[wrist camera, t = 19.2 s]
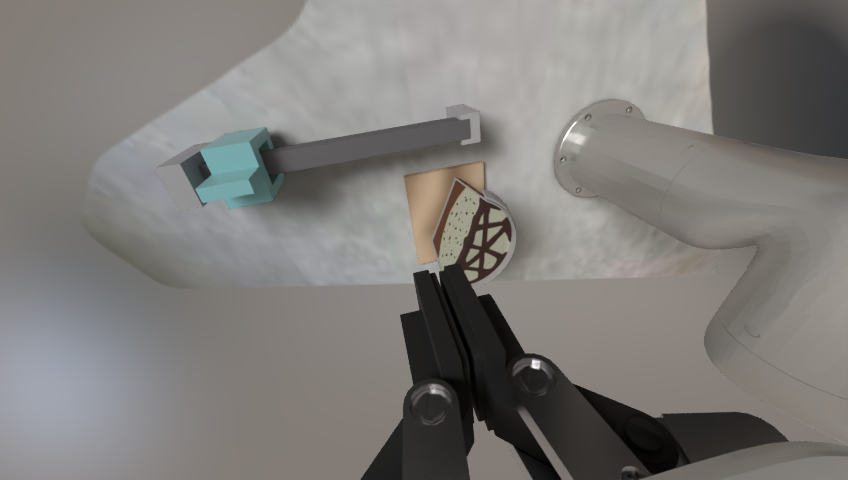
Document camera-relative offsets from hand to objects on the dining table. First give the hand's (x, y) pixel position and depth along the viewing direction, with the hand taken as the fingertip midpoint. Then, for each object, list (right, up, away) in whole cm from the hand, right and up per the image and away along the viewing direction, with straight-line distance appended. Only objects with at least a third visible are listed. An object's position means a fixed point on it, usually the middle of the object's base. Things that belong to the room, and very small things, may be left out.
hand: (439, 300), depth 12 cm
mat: (+3, +6, +32) cm, 32 cm away
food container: (+5, +6, +32) cm, 32 cm away
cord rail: (-10, +13, +24) cm, 29 cm away
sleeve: (-18, +11, +22) cm, 31 cm away
